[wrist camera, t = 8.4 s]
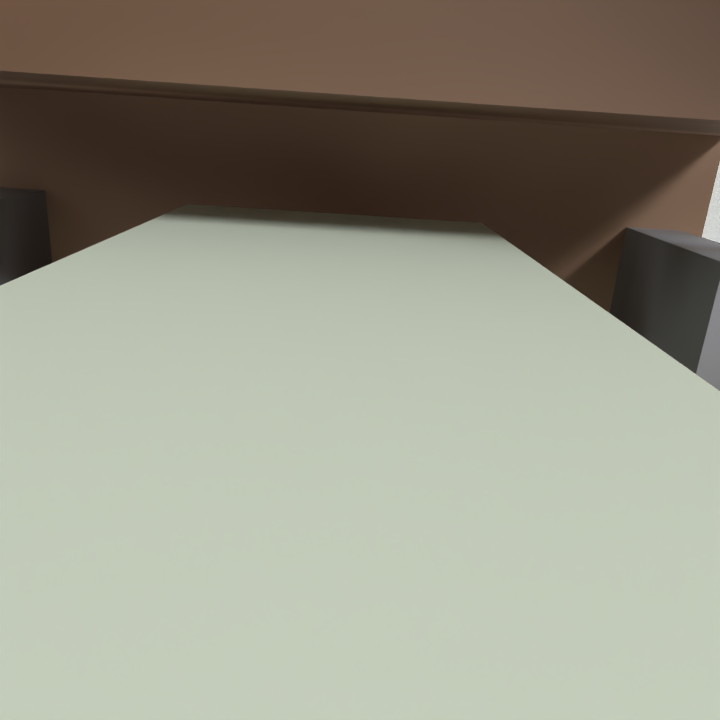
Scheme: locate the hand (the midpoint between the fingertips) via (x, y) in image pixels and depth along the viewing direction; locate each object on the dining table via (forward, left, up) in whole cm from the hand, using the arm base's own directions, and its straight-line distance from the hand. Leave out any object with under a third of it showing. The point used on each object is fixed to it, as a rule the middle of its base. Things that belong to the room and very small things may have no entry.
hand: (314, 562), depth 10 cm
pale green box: (0, 0, -3) cm, 3 cm away
